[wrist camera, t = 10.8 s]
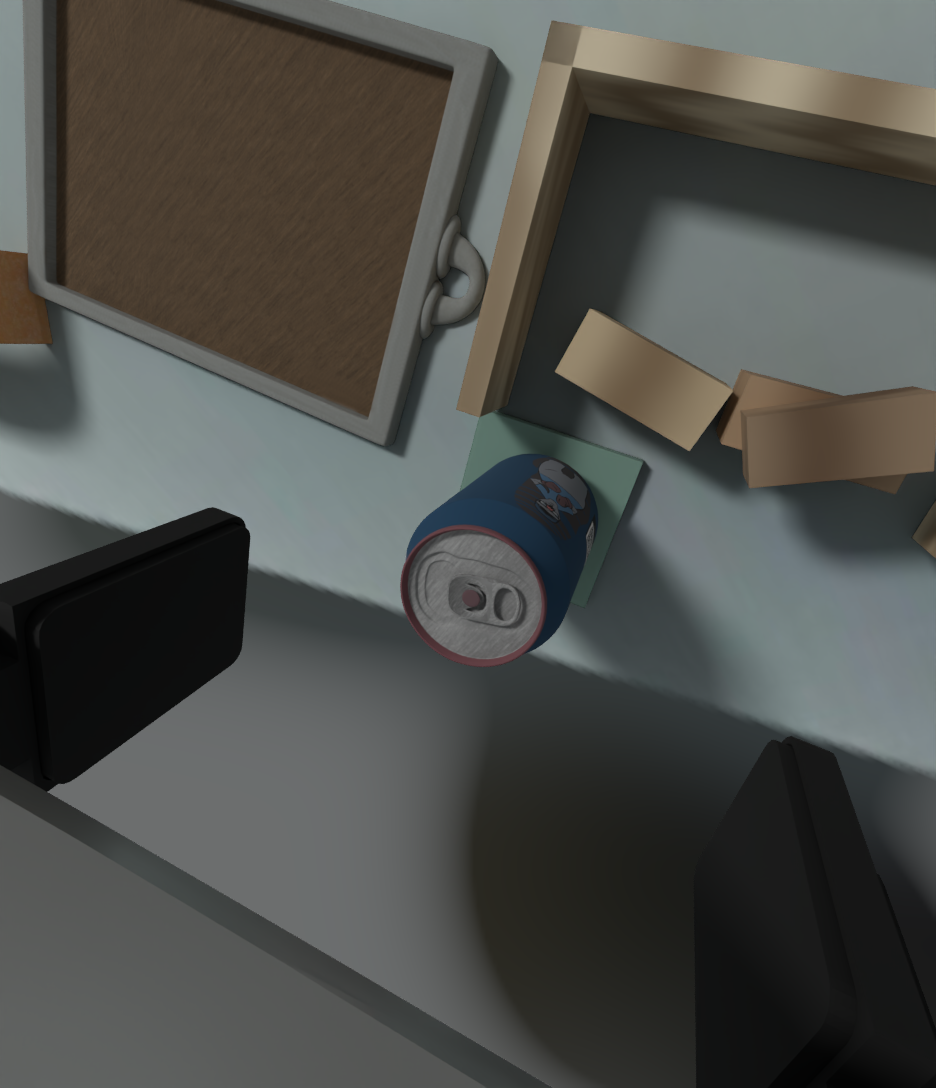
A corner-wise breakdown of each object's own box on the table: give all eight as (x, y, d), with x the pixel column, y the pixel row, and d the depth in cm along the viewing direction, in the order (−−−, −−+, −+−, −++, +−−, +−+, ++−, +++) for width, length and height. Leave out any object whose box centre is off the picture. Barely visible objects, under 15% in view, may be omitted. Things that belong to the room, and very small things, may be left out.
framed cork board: (18, -91, 30) (547, 61, 25) (48, -72, 31) (554, 76, 26) (26, 291, 38) (425, 466, 33) (50, 292, 39) (435, 460, 34)
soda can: (474, 556, 34) (384, 658, 23) (483, 441, 32) (386, 496, 21) (591, 578, 32) (550, 700, 22) (610, 458, 30) (574, 528, 19)
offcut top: (912, 386, 22) (938, 391, 20) (909, 458, 23) (933, 471, 21) (740, 410, 24) (746, 417, 22) (743, 475, 25) (749, 488, 23)
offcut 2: (900, 410, 26) (936, 422, 22) (866, 472, 27) (895, 494, 23) (740, 369, 27) (750, 374, 24) (715, 430, 28) (721, 444, 25)
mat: (643, 460, 30) (643, 462, 29) (586, 603, 33) (584, 608, 33) (484, 407, 32) (481, 408, 31) (446, 549, 35) (443, 552, 35)
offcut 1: (725, 383, 28) (733, 390, 24) (687, 436, 29) (689, 451, 25) (600, 311, 28) (590, 308, 25) (569, 367, 30) (554, 371, 26)
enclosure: (1176, 194, 21) (1313, 156, 16) (938, 546, 27) (991, 589, 22) (573, 75, 25) (551, 20, 21) (487, 398, 31) (456, 409, 27)
